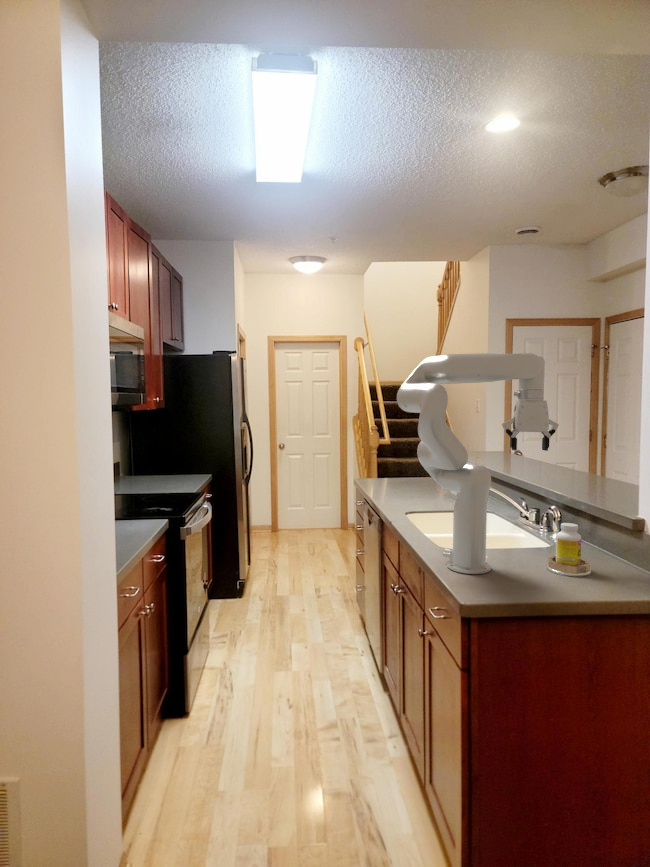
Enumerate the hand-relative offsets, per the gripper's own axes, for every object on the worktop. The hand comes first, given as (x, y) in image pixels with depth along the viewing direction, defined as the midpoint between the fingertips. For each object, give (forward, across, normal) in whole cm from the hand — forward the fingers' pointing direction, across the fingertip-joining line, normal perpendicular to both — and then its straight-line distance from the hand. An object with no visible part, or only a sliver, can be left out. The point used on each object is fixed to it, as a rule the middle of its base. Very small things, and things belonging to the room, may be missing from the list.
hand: (529, 450), depth 173 cm
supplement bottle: (+34, +8, -14) cm, 37 cm away
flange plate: (+34, +8, -13) cm, 38 cm away
